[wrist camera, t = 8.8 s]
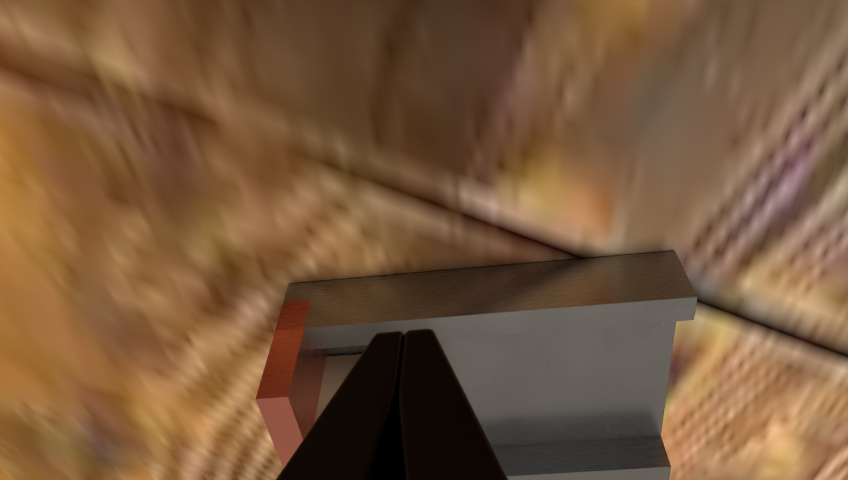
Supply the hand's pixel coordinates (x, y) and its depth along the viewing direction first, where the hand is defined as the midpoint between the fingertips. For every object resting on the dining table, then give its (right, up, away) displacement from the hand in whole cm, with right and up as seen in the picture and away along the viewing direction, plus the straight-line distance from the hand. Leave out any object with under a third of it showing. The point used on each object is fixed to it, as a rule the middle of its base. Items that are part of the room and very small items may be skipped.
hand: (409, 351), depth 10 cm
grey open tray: (+3, -3, +17) cm, 18 cm away
